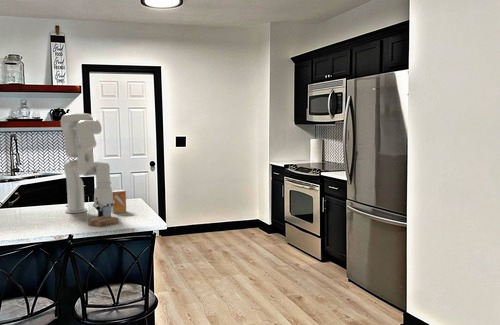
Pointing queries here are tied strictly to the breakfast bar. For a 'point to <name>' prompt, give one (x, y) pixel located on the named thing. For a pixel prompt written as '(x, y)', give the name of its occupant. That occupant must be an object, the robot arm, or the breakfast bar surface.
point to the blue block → (106, 210)
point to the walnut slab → (103, 221)
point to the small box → (119, 201)
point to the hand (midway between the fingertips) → (104, 216)
